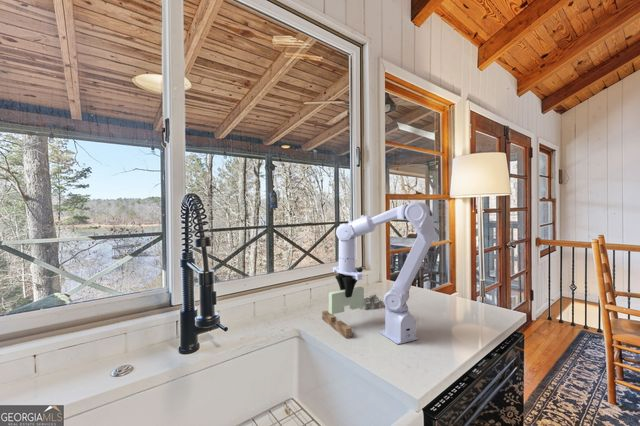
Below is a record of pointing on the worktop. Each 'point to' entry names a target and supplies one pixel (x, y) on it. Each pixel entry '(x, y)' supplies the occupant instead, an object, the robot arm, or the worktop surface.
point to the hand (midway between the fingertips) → (346, 296)
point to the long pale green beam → (345, 300)
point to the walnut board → (337, 324)
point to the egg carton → (372, 302)
